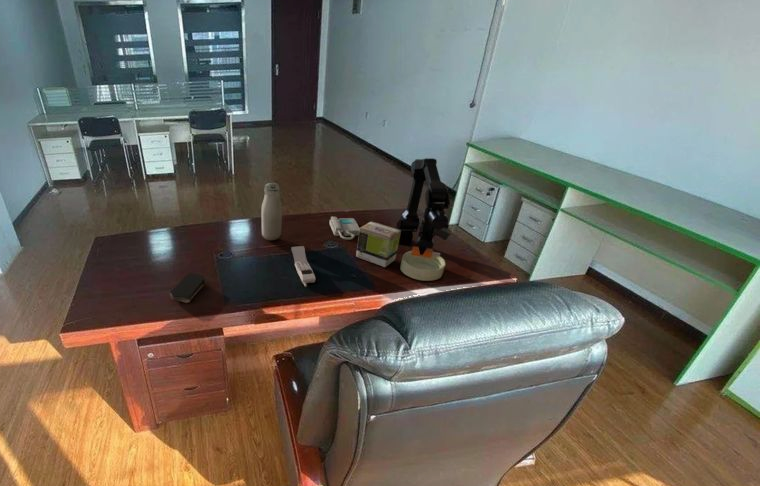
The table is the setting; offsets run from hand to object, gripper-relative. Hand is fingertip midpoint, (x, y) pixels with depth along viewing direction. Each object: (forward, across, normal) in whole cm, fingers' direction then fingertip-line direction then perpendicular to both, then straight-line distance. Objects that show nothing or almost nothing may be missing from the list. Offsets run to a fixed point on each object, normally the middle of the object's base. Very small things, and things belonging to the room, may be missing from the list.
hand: (421, 253), depth 166 cm
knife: (+1, 0, -2) cm, 2 cm away
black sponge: (+9, -51, +84) cm, 98 cm away
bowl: (+8, 0, -2) cm, 9 cm away
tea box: (+9, +4, +18) cm, 21 cm away
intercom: (+9, +25, +36) cm, 45 cm away
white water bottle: (+9, +5, +70) cm, 70 cm away
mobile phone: (+9, -19, +46) cm, 50 cm away
